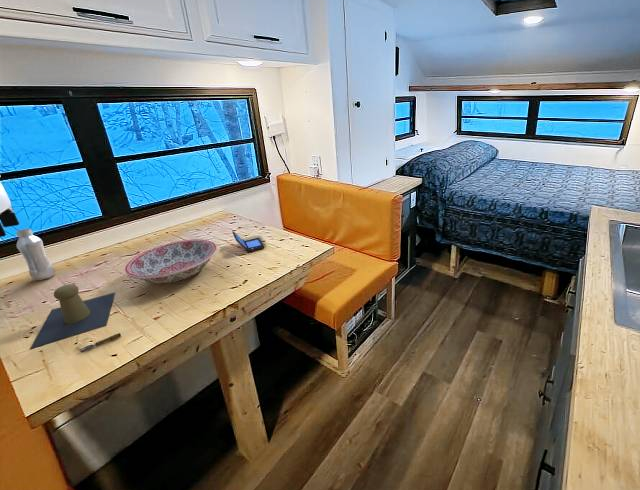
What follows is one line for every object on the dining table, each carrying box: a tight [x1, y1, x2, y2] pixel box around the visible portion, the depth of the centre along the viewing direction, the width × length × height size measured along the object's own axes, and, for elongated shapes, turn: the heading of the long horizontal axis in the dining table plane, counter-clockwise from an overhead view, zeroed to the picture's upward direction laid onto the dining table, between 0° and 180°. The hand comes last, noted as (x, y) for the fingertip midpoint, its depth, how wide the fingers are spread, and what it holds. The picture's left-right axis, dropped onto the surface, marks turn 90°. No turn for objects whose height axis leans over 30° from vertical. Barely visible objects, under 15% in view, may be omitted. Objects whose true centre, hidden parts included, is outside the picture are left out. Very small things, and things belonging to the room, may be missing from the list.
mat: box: [29, 292, 116, 350], centre depth 95 cm, size 16×20×1 cm
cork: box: [53, 283, 90, 324], centre depth 93 cm, size 6×6×11 cm
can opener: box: [77, 332, 122, 353], centre depth 84 cm, size 9×2×1 cm, turn 126°
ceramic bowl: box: [124, 238, 218, 284], centre depth 116 cm, size 29×29×8 cm
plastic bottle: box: [15, 228, 56, 281], centre depth 114 cm, size 6×7×20 cm
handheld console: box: [231, 231, 265, 254], centre depth 137 cm, size 12×11×7 cm
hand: (5, 231), depth 89 cm, fingers open, 9 cm apart
